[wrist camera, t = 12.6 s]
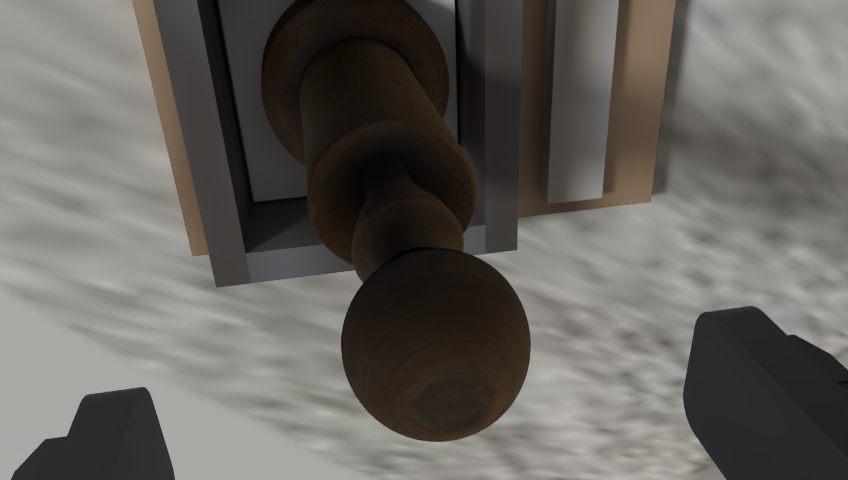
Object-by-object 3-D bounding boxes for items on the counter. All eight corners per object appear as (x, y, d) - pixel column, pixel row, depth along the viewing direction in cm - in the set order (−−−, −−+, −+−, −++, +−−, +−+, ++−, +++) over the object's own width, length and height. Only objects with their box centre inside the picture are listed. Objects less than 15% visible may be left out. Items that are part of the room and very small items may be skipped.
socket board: (675, -157, 26) (773, -163, 20) (636, 188, 32) (702, 249, 27) (112, -129, 23) (61, -128, 18) (196, 239, 30) (177, 317, 25)
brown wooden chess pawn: (455, 133, 27) (678, 487, 12) (297, 180, 27) (308, 604, 11) (415, -42, 24) (649, 125, 8) (234, 10, 24) (130, 281, 8)
